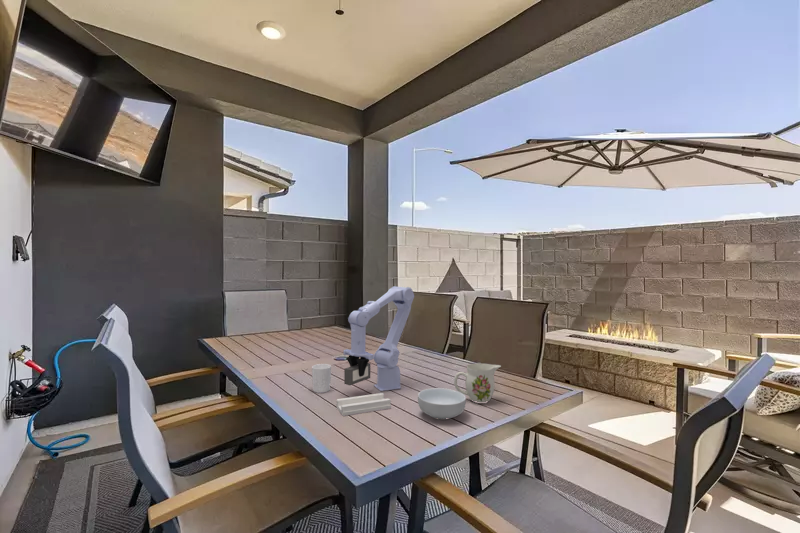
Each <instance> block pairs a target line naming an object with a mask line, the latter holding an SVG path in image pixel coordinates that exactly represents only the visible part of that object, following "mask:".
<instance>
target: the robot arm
mask: <svg viewBox="0 0 800 533" xmlns="http://www.w3.org/2000/svg"><path fill="white" fill-rule="evenodd" d="M414 299H415V293H414V291H413V289H412V288H411V287H409V286H407V287H405V286H397V285H394V286H392V287H390V288H389V289H388V291H387V292H386V293H384V294H383V295H382V296H381V297H379V298H378V299H377V300H376V301H374V300H368V301H367V302H366V304H365V305H363V306H360V307H359V308H358V309H357V310H353V311H352V312H350V314H349V316H348V317H347V319H348V320H347V321H348V323H349V325H350V331H351V332H350V341H351V342H350V349H349V348H348V349H347V348H346V349H343V355H344V356H346V355H347V356H348V357H346V361H347V362H348V364H349V367H351V366H354V365H358V367H359V376H360V377H361V376H364V373H365V369H366V366H367V364H368V363H370V362H369V361H372V360H373V361H374V362H375V364H376V367H377V368H376V369H377V374H376V375H377V377H376V379H377V380H376V384H373V386H374V387H375V388H376V389H377V390H379V391H380V392H385V391H391V390H392V391H393V390H397V389H400V390H401V388H402V387H401V369H400V367H399V366H398V363H399V356H400V350H399V349H398V345H399V342H400V339H401V337H402V335H403V331H404V329H405V327H406V324H407V320H408V318H409V316H410V314H411V310H412V305H413V301H414ZM391 302H393V305H395V307H396V309H397V311H396V313H395V315H394V318H393V321H392V323H391V325H390V328H389V330H388V334H387V337H386V339H385V340H384V342H382V344H380V345H379V346H378V348H377V350H376V351H375V352H374V353H370V352H369V351H366V339H367V338H366V333H367V332H366V330H367V329H366V328H367V325H368V324H369V321H370V320H371V319H372V318H373V317H375V316H376V315H377V314H379V313H380V312H381V311H380V310H381V309H382V308H383V307H384V306H386V305H387V304H389V303H391Z"/></svg>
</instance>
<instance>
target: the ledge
mask: <svg viewBox="0 0 800 533" xmlns="http://www.w3.org/2000/svg"><path fill="white" fill-rule="evenodd" d="M391 402H392V400H391V399H390V398H385V393H383V392H379V393H373V394H366V395H365V394H364V395H357V396H349V397H343V398H336V404H335V405H336V406H335V407H336V409H337V410H338V412H339V413H340V415H341V416H343V417H345V416H352V415H358V414H364V413H371V412H377V411H378V412H379V411H384V410H390V408H391V409H392V406H391Z"/></svg>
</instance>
